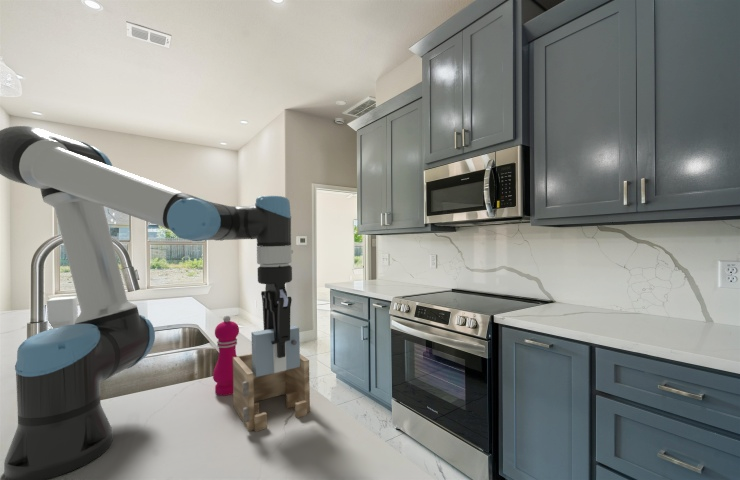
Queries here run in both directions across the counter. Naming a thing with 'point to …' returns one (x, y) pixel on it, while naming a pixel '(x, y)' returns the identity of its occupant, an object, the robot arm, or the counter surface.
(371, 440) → the counter surface
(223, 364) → the pepper mill
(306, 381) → the cabinet
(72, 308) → the supplement box
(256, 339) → the door
